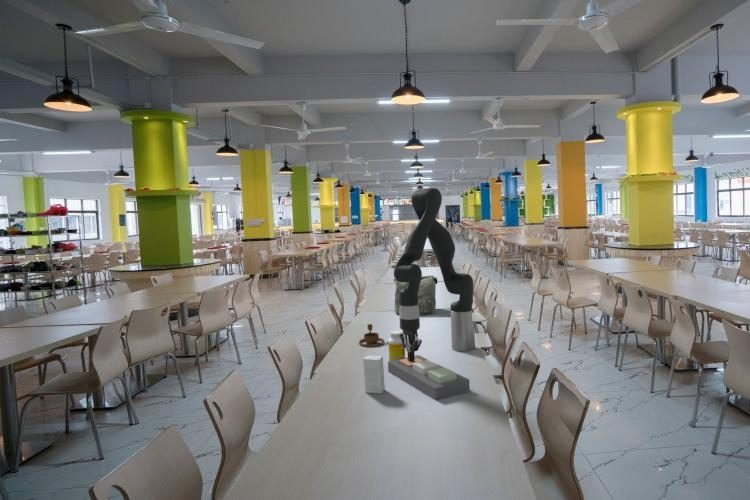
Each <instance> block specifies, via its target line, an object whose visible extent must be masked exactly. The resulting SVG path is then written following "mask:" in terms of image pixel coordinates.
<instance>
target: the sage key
mask: <svg viewBox="0 0 750 500" xmlns="http://www.w3.org/2000/svg"><path fill="white" fill-rule="evenodd" d="M442 367H443V368H439V369H435V370H431V371H428V379H430V380H432V381H434V382H436V383H438V384H442V383H446V382H450V381H454V380H456V373H457V372H455V371H453V370H451V369H450V368H447V367H445V366H442Z"/></svg>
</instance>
